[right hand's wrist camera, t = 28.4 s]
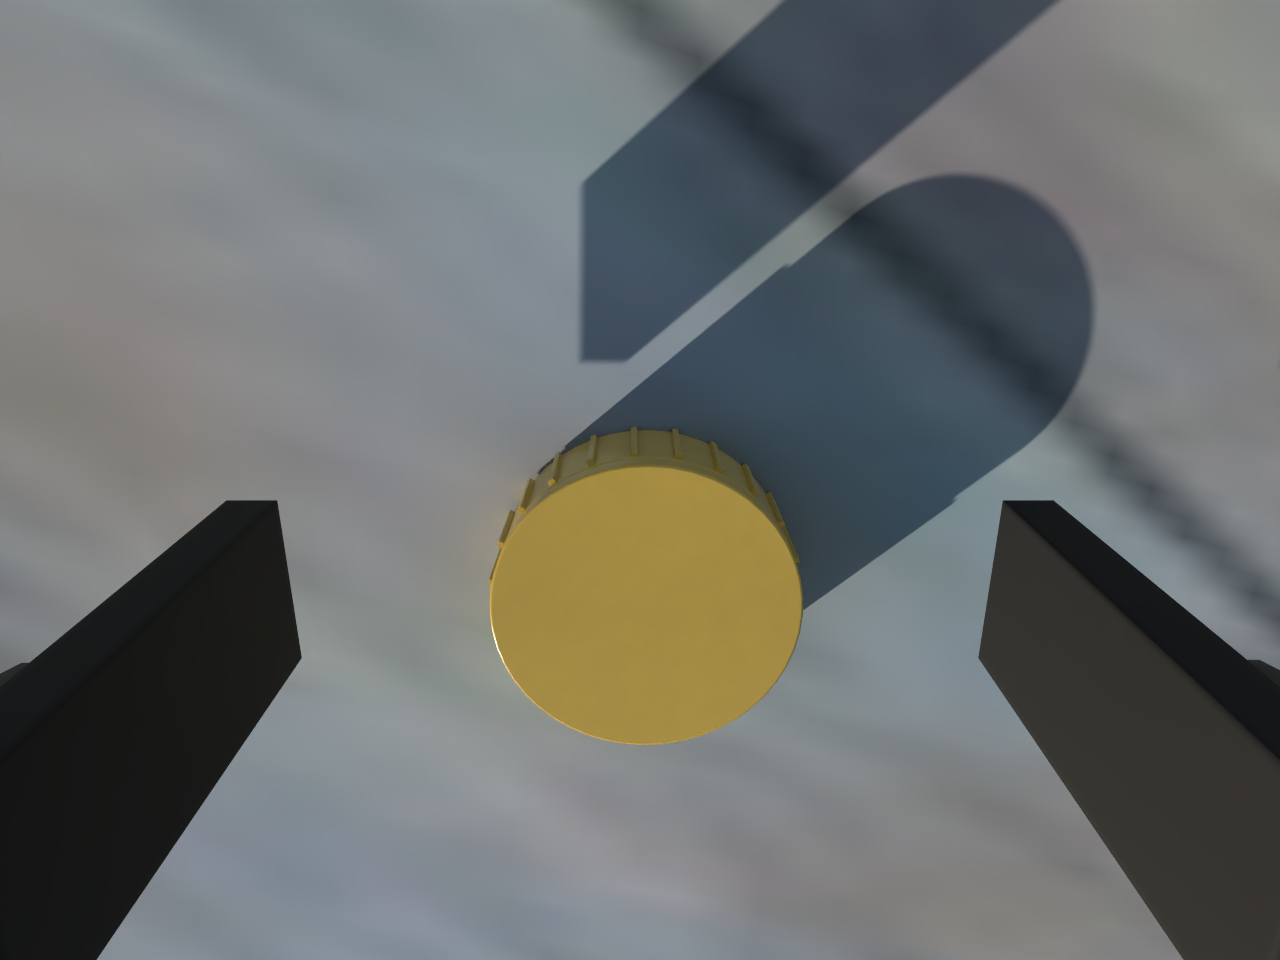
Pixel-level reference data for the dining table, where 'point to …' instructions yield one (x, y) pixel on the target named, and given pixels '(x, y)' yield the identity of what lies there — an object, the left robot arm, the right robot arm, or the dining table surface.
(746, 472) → the lid
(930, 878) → the dining table surface
